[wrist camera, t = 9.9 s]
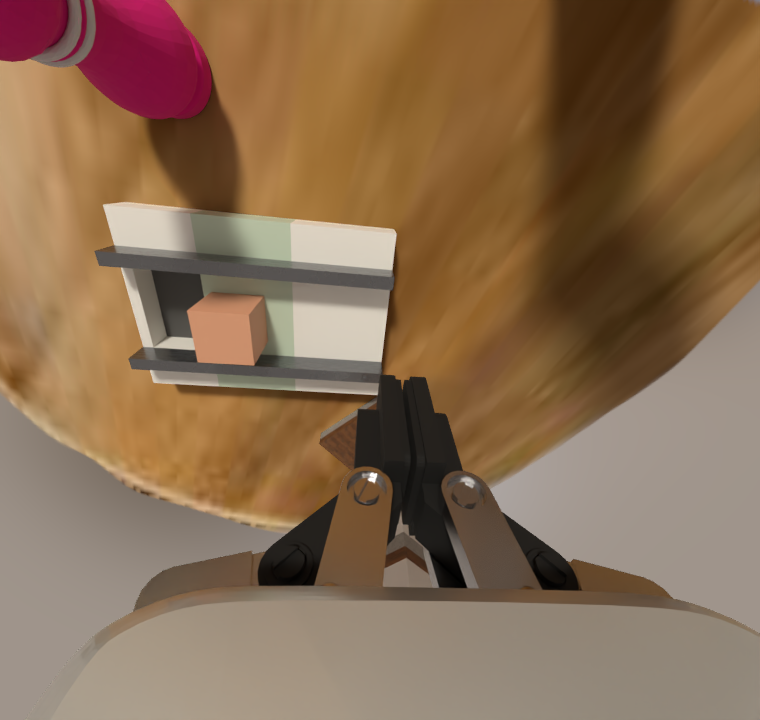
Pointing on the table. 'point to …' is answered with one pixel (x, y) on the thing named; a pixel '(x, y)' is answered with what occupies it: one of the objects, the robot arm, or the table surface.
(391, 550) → the display case
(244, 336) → the terracotta block
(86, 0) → the pepper mill
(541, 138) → the table surface
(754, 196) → the table surface
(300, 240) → the channel deck
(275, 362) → the channel walls
